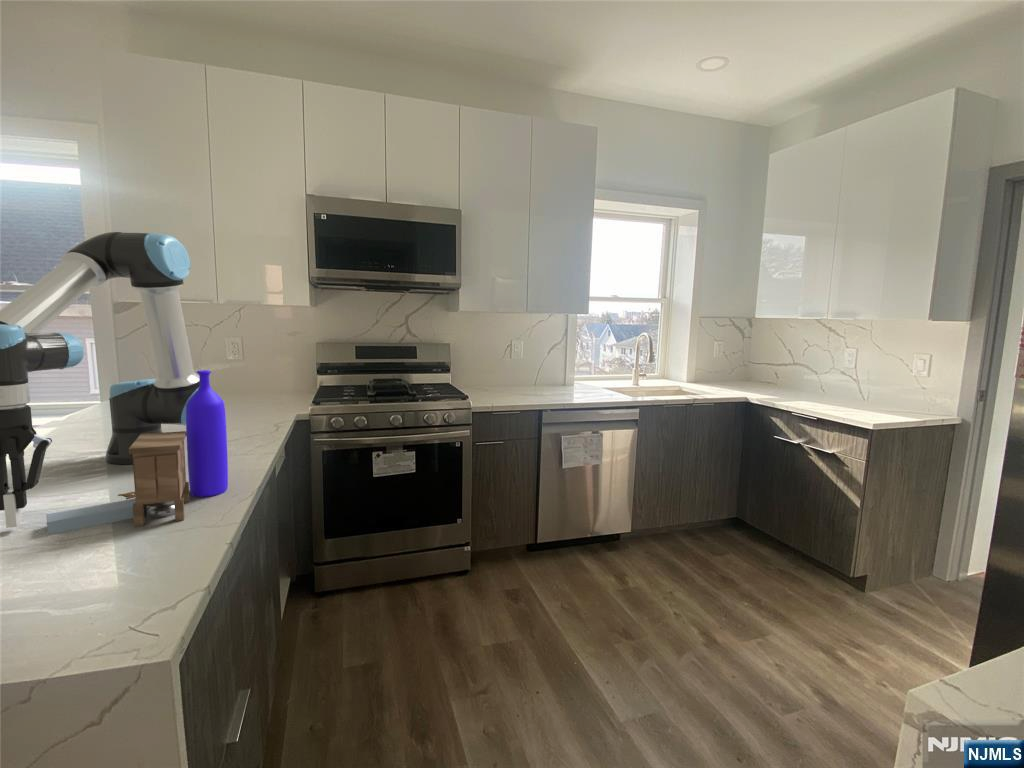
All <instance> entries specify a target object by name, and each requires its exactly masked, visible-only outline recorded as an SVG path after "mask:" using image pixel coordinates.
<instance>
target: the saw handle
mask: <svg viewBox="0 0 1024 768" xmlns="http://www.w3.org/2000/svg"><path fill="white" fill-rule="evenodd" d="M117 496H118V497H121V496H122V497H124V498H125V500H129V499H135V491H130V492H126V493H119V494H117Z"/></svg>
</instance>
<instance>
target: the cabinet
mask: <svg viewBox="0 0 1024 768" xmlns="http://www.w3.org/2000/svg"><path fill="white" fill-rule="evenodd" d="M186 439H187V435H186V430H183V431H182V430H181V431H167V432H163V433H148V434H140V436H139V437H138V438H137V439H136V440H135V442H134V443H133V444H132V445H131V446H130V448H129V454H132V453H133V464H132V467H133V480H134V482H133V483H134V485H133V486H134V492H135V494H134V495H135V497H134V499H135V500H136V503H134V504H133V517H134V518H133V527H134V528H135V527H143V526H144V524H145V512H144V511H145V508H146V507H147V506H148V505H150V504H152V503H160V502H169V501H174V506H175V515H174V520H175V522H180V521H184V520H185V518H186V517H185V504H189V502H190V486H189V481H187V475H186V455H185V440H186Z"/></svg>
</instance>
